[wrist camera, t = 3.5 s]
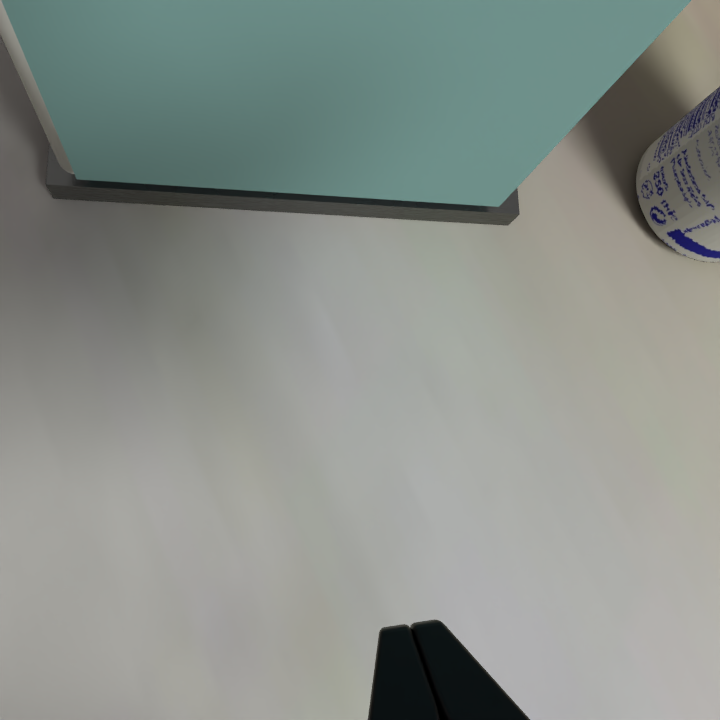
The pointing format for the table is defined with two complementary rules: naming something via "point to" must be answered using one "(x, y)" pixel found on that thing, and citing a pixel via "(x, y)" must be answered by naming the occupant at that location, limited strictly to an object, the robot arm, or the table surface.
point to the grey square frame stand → (272, 200)
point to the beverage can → (685, 183)
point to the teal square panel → (321, 89)
